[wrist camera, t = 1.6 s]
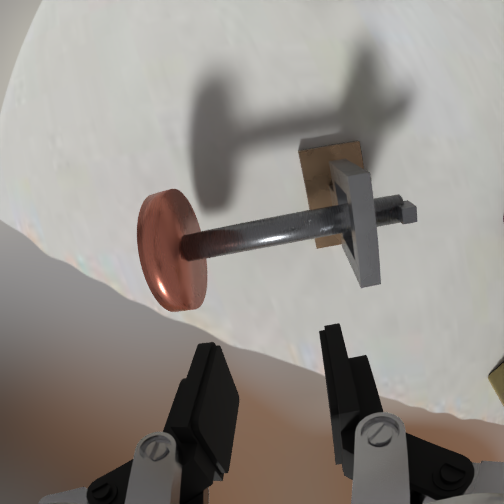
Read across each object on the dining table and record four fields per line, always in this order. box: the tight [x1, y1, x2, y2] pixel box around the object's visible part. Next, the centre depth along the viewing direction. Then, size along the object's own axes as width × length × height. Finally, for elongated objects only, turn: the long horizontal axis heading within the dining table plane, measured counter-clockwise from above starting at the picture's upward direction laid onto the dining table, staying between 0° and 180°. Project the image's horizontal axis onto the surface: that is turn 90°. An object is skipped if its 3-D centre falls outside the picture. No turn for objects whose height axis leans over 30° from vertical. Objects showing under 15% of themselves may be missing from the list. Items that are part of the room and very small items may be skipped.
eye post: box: [298, 141, 381, 288], centre depth 26 cm, size 10×6×12 cm, turn 13°
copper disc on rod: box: [137, 189, 417, 312], centre depth 25 cm, size 10×21×10 cm, turn 103°
